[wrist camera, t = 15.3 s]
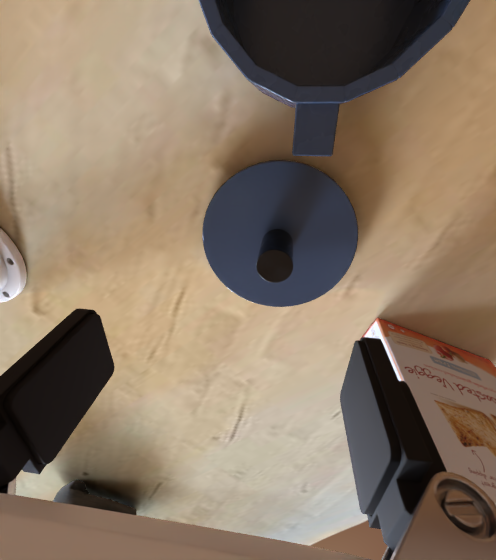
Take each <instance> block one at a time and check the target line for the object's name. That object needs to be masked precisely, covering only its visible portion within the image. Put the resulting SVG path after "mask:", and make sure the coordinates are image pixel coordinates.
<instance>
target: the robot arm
mask: <svg viewBox="0 0 496 560" xmlns="http://www.w3.org/2000/svg"><path fill="white" fill-rule="evenodd" d="M26 280H27V273H26V267H25V263H24V261H23V258H22V256H21V254H20V252H19V250H18V249H17V247H16V245H15V244H14V243H13V241H12V240H11V239H10V237H9V236H8V235H7V234H6V233H5V232H4V231H3V230H2V229H1V228H0V302H5V301H8V300H10V299H12V298H14V297H15V296H17V295H18V294H20V293H21V292H22V290H23V289H24V287H25V284H26ZM113 372H114V363H113V359H112V356H111V353H110V349H109V346H108V342H107V339H106V335H105V332H104V328H103V325H102V321H101V318H100V316H99V315H98V314H97V313H96V312H95V311H94V310H88V309H76V310H74V311H73V312H72V313H71V314H70V315H69V316H67V317H66V318H65V319H64V320H63V321H62V322H61V323H60V324H58V325H57V326H56V327H55V328H54V329H53V330H52V331H51V332H49V333H48V334H47V335H46V336H45V337H44V338H43V339H42V340H40V341H39V342H38V343H37V344H36V345H35V346H34V347H33V348H31V349H30V350H29V351H28V352H27V353H26V354H25V355H24V356H22V357H21V358H20V359H19V360H18V361H17V362H16V363H15V364H13V365H12V366H11V367H10V368H9V369H8V370H7V371H6V372H4V373H3V374H2V375H1V376H0V560H371V559H367V558H363V557H359V556H355V555H351V554H347V553H342V552H337V551H332V550H327V549H322V548H317V547H312V546H307V545H302V544H297V543H291V542H286V541H281V540H275V539H270V538H264V537H258V536H252V535H247V534H241V533H235V532H230V531H224V530H218V529H213V528H207V527H201V526H196V525H190V524H184V523H178V522H172V521H166V520H160V519H155V518H149V517H143V516H137V515H131V514H125V513H119V512H113V511H107V510H102V509H96V508H90V507H84V506H78V505H71V504H65V503H59V502H53V501H47V500H41V499H35V498H29V497H23V496H17V495H15V492H16V476H17V475H18V474H19V472H20V471H21V470H23V471H24V472H30V473H36V474H40V473H41V471H42V470H43V469H44V467H45V466H46V464H49V463H50V462H52V461H53V460H54V458H55V457H56V456H57V454H58V453H59V451H60V450H61V448H62V447H63V445H64V444H65V443H66V441H67V440H68V438H69V437H70V435H71V434H72V432H73V431H74V430H75V428H76V427H77V425H78V424H79V422H80V421H81V419H82V418H83V416H84V415H85V414H86V412H87V411H88V409H89V408H90V406H91V405H92V403H93V402H94V401H95V399H96V398H97V396H98V395H99V393H100V392H101V390H102V389H103V388H104V386H105V385H106V383H107V382H108V380H109V379H110V377H111V376H112V374H113ZM340 402H341V408H342V413H343V419H344V424H345V430H346V435H347V441H348V446H349V451H350V457H351V462H352V468H353V473H354V479H355V484H356V489H357V495H358V500H359V505H360V509H361V512H362V513H363V514H367V516H368V521H369V526H370V527H371V528H377V529H381V531H382V535H383V540H384V542H385V543H386V545H387V546H388V547H387V549H386V551H385V553H384V555H383V557H382V559H381V560H496V505H495V503H494V502H493V501H492V500H491V498H490V497H489V496H488V495H487V494H486V493H485V492H484V491H483V490H482V489H481V488H480V487H478V486H477V485H476V484H475V483H474V482H472V481H470V480H469V479H467V478H465V477H463V476H461V475H458V474H455V473H453V472H447V470H446V468H445V465H444V463H443V461H442V459H441V457H440V454H439V452H438V450H437V448H436V446H435V443H434V441H433V439H432V437H431V434H430V432H429V430H428V428H427V426H426V423H425V421H424V419H423V417H422V415H421V412H420V410H419V408H418V406H417V403H416V401H415V399H414V397H413V395H412V392H411V390H410V388H409V386H408V385H407V383H406V382H405V381H399V380H398V378H397V376H396V373H395V371H394V369H393V366H392V364H391V362H390V359H389V357H388V354H387V352H386V350H385V347H384V345H383V343H382V341H381V339H379V338H369V337H362V338H361V340H360V341H355V343H354V347H353V350H352V354H351V358H350V361H349V365H348V368H347V372H346V375H345V379H344V383H343V386H342V390H341V394H340Z"/></svg>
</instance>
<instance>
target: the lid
mask: <svg viewBox="0 0 496 560" xmlns="http://www.w3.org/2000/svg"><path fill="white" fill-rule="evenodd" d="M357 241H358V226H357V219H356V215H355V212H354V209H353V207H352V205H351V203H350V200H349V198H348V197H347V196H346V194H345V193H344V191H343V190H342V188H341V187H340V186H339V185H338V184H337V183H336V182H335V181H334V180H333V179H332V178H330V177H329V176H328V175H327V174H325V173H324V172H322V171H320V170H318V169H317V168H314V167H312V166H309V165H307V164H304V163H300V162H296V161H288V160H273V161H266V162H261V163H258V164H255V165H252V166H249V167H247V168H245V169H243V170H241V171H239V172H238V173H236V174H235V175H233V176H232V177H231V178H229V179H228V180H227V181H226V182H225V183H224V184H223V185H222V186H221V187H220V188H219V190H218V191H217V192H216V193H215V195H214V197H213V198H212V200H211V202H210V204H209V206H208V208H207V211H206V214H205V218H204V223H203V245H204V250H205V253H206V257H207V259H208V262H209V264H210V266H211V268H212V269H213V271H214V273H215V274H216V275H217V277H218V278H219V279H220V280H221V282H222V283H223V284H224V285H225V286H226V287H228V288H229V289H230V290H231V291H233V292H234V293H236V294H237V295H239V296H240V297H242V298H244V299H246V300H249V301H251V302H254V303H257V304H261V305H266V306H273V307H286V306H294V305H299V304H303V303H306V302H309V301H311V300H314V299H316V298H318V297H320V296H321V295H323V294H325V293H326V292H328V291H329V290H330V289H332V288H333V287H334V286H335V285H336V284H337V283H338V282H339V281H340V280H341V278H342V277H343V276H344V275H345V273H346V272H347V270H348V268H349V267H350V265H351V263H352V260H353V258H354V255H355V252H356V248H357Z"/></svg>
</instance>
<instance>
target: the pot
mask: <svg viewBox="0 0 496 560" xmlns="http://www.w3.org/2000/svg"><path fill="white" fill-rule="evenodd" d="M199 2H200V5H201V8H202V11H203V14H204V16H205V19H206V22H207V25H208V27H209V30H210V33H211V34H212V37H213V38H214V39H215V40H216V42H217V43H218V44H219V45H220V47H221V48H222V49H223V50H224V51H225V53H226V54H227V55H228V56H229V58H230V59H231V60H232V61H233V63H234V64H235V65H236V66H237V67H238V69H239V70H240V71H241V72H242V74H243V75H244V76H245V77H246V78H247V80H249V81H250V82H251V83H252V84H253V85H254V86H255V87H256V88H257V89H259V90H260V91H261V92H262V93H264V94H266V95H268V96H270V97H272V98H274V99H276V100H277V101H280V102H282V103H284V104H286V105H288V106H290V107H292V108H296V111H295V124H294V137H293V150H292V154H293V155H294V156H332V155H333V148H334V141H335V134H336V127H337V119H338V112H339V105H340V104H343V103H346V102H348V101H350V100H353V99H355V98H357V97H359V96H362V95H364V94H366V93H368V92H371V91H373V90H375V89H377V88H380V87H382V86H384V85H386V84H389V83H391V82H393V81H396V80H397V79H398V78H400V77H402V76H403V75H404V74H405V73H406V72H407V71H408V70H409V69H410V68H411V67H412V66H413V65H414V64H415V63H417V62H418V61H419V60H420V59H421V58H422V57H423V56H424V55H425V54H426V53H427V52H428V51H429V50H430V49H432V48H433V47H434V46H435V45H436V44H437V43H438V42H439V41H440V40H441V39H442V38H443V37H444V36H445V35H447V34H448V33H449V32H450V31H451V30H452V28H453V27H454V26H455V24H456V23H457V21H458V20H459V18H460V16H461V15H462V13H463V11H464V10H465V8H466V6H467V5H468V3H469V2H470V0H199Z"/></svg>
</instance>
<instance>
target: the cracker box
mask: <svg viewBox="0 0 496 560" xmlns="http://www.w3.org/2000/svg"><path fill="white" fill-rule="evenodd" d="M363 337H369V338H379V339H381V341H382V343H383V345H384V347H385V350H386V352H387V354H388V357H389V359H390V362H391V364H392V366H393V369H394V371H395V373H396V376H397V378H398V380H399V381H405V382H406V383H407V385H408V386H409V388H410V390H411V392H412V395H413V397H414V399H415V401H416V403H417V406H418V408H419V410H420V412H421V415H422V417H423V419H424V421H425V423H426V426H427V428H428V430H429V432H430V434H431V437H432V439H433V441H434V443H435V446H436V448H437V450H438V452H439V454H440V457H441V459H442V461H443V463H444V465H445V468H446V470H447V472H453V473H455V474H458V475H461V476H463V477H465V478H467V479H469V480H470V481H472V482H474V483H475V484H476V485H477V486H478V487H480V488H481V489H482V490H483V491H484V492H485V493H486V494H487V495H488V496H489V497H490V498H491V500H492V501H493V502H494V503H495V505H496V367H495V366H494V365H493V364H492V363H491V361H490V360H488V359H485V358H483V357H480V356H477V355H474V354H472V353H469V352H467V351H464V350H461V349H458V348H456V347H453V346H450V345H448V344H445V343H443V342H440V341H437V340H435V339H432V338H429V337H427V336H424V335H421V334H419V333H416V332H414V331H411V330H408V329H406V328H403V327H400V326H398V325H395V324H393V323H390V322H387V321H385V320H382V319H379V318H377V319H376V320H375V321H374V323H373V324H372V325H371V327H370V328H369V329H368V331H367V332H366V333H365V335H364V336H363Z"/></svg>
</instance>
